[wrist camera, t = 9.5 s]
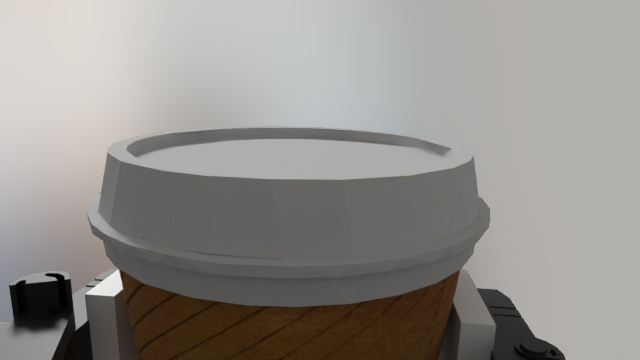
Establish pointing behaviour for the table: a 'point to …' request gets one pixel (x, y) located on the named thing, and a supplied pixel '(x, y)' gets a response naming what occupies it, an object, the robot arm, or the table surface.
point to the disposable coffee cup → (288, 241)
